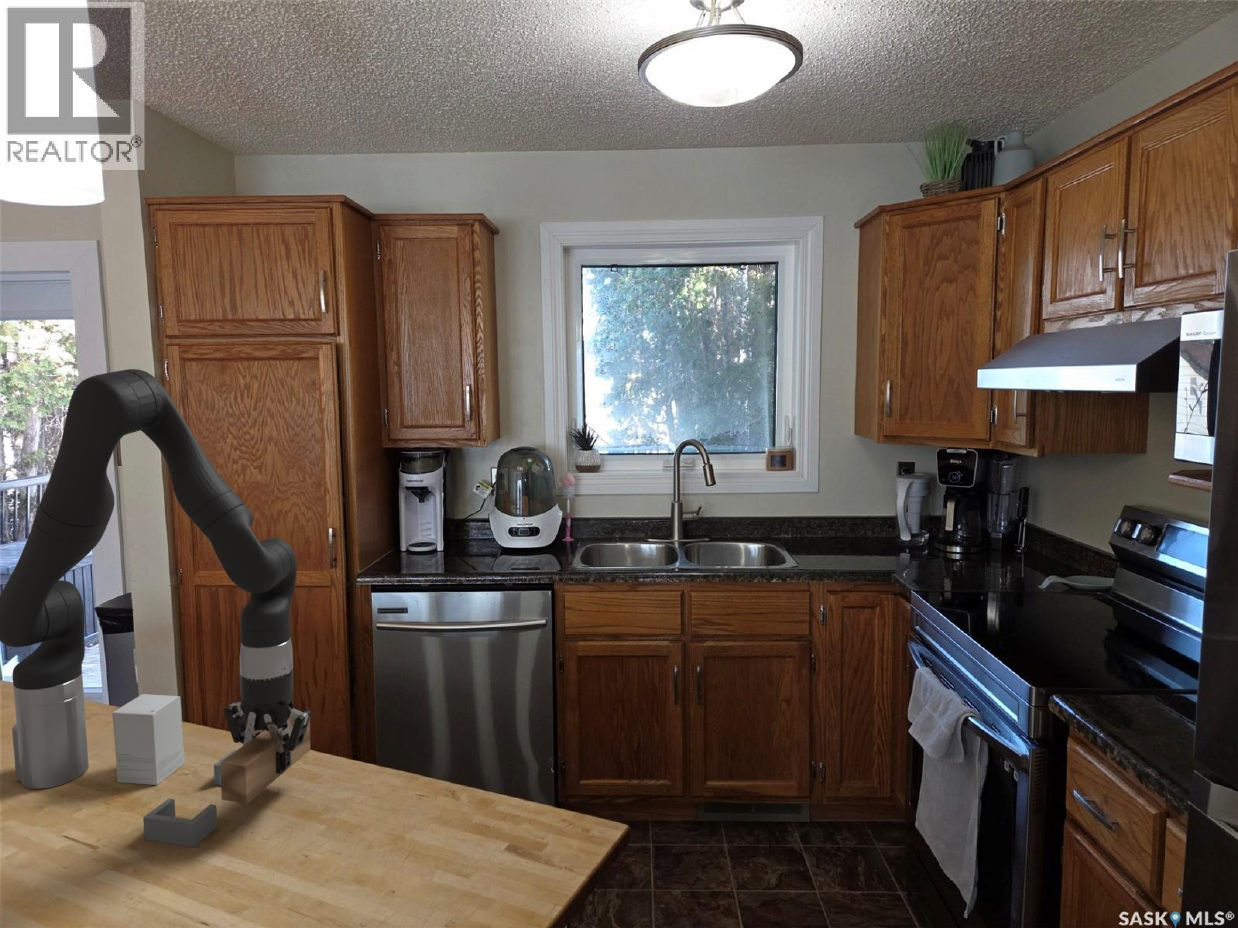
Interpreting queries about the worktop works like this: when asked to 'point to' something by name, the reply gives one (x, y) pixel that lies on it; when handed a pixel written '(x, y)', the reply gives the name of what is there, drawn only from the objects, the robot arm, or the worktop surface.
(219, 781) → the endcap
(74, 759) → the robot arm
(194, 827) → the endcap
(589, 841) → the worktop surface
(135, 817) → the worktop surface
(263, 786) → the brown wooden bar
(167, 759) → the supplement box
